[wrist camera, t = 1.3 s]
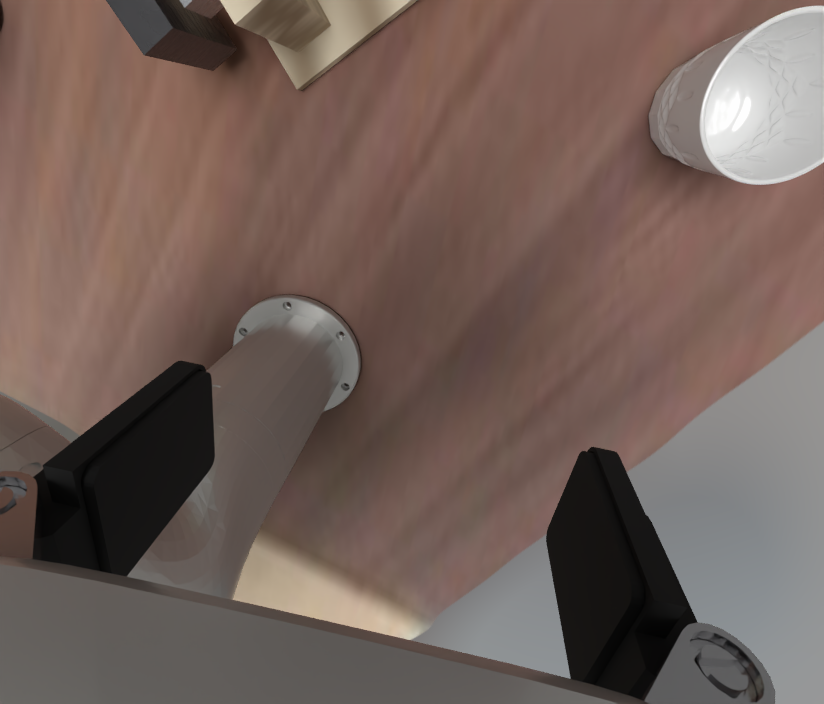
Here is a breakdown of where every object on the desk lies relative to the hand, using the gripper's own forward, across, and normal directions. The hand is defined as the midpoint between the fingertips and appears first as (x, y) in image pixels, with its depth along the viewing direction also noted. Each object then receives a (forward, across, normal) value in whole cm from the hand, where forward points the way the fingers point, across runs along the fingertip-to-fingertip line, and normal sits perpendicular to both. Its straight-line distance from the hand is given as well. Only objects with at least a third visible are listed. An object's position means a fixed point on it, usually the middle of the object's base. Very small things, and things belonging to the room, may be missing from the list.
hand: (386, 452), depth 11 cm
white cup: (+29, -16, -11) cm, 35 cm away
